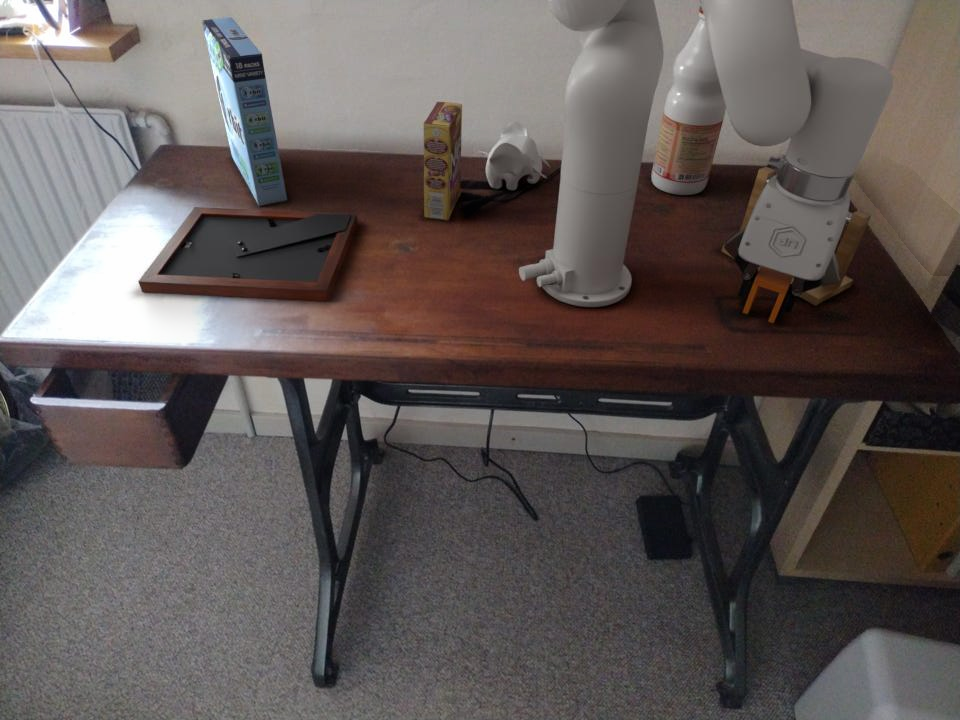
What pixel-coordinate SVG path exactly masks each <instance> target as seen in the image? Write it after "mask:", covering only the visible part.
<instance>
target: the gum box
mask: <svg viewBox="0 0 960 720" xmlns="http://www.w3.org/2000/svg"><path fill="white" fill-rule="evenodd" d="M201 23H202V28H203V32H204V38H205V41H206V47H207V51H208V55H209V59H210V64H211V68H212V73H213V78H214V82H215V87H216V91H217V95H218V100H219V104H220V109H221V113H222V118H223V123H224V127H225V131H226V136H227V140H228V144H229V149H230V153H231V154H230V155H231V157H232V159H233V161H234V164H235V165H236V167H237V169H238V171H239V172H240V174H241V175H242V178H243V180H244V181H245V183H246V184H247V187H248V188H249V190H250V192H251V194H252V196H253V197H254V199H255V202H256V203H257V206H259V207H263V206H268V205H269V206H270V205H273V204H278V203H283V202H287V201H288V197H287V191H286V186H285V185H286V184H285V180H284V174H283V168H282V163H281V157H280V152H279V146H278V140H277V134H276V128H275V123H274V117H273V111H272V106H271V100H270V95H269V89H268V83H267V77H266V70H265V66H264V59H263V53H262V52H261V51H260V49H259V48H258V47H257V46H256V45H255V44H254V42H253V41H252V40H251V38H249V36H248V35H247V34H246V33H245V32H244V30H243V29H242V28H241V27H240V26H239V24H238V23H237V22H236V20H234V19H233V17H231V16H229V17H218V18H211V19H203V20H201Z"/></svg>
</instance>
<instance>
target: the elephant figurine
mask: <svg viewBox="0 0 960 720" xmlns="http://www.w3.org/2000/svg"><path fill="white" fill-rule="evenodd" d="M479 154H481V155H482V156H484V157H485V158H487V160H486V165H485V176H486V179H487V182H488V184H489V187H491V188H492V189H495V190H499V189H501V188H502V187H503V180H504V181H505V187H506V189H507V190H509V191H515V190H517V188H518V187H519V181H520V180H521V178H523V177H524V176H526V175H528V177H527V179H526V181H527V183H528V184H533V185H534V184H536V183H538V182H539V180H540V178H541V177H542V178H544V179H548V177H547V176H546V175H545V174H543V173H542V171H543V164H544V165H546V166H547V167H549V168H551V169H552V167H551V165H550V164H549V162H548V161H547V160H546V159H545V158H543V156H541V155H540V154H539V152H538V150H537V144H536V142H535V140H534V139H533V138H532V137H530V136H529V133H528V130H527V128H526V126H525V125H524V124H522V123H520V122H519V121H512V122H510V123H508V124H507V125H506V126H505V127H504V128H503V130H502V132H501V134H500V136H499V139H498V142H496V144H494V145H493V147H492V148H491V150H490V151H489V152H487V151H481V150H479Z"/></svg>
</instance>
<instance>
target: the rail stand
mask: <svg viewBox="0 0 960 720" xmlns="http://www.w3.org/2000/svg"><path fill="white" fill-rule="evenodd" d="M775 173H776V171H774V170H773V169H771V168H767V166H764V167H762V168H759V169H758V171H757V175H756V178H755V182H754V184H753V188H752V191H751V195H750V197H749V201H748V204H747V207H746V212H745V214H744V216H743V221H742V225H741V227H740V230H739V232H740V231H741V230H743V229H744V228H746V227H747V224H748V222H749V219H750V217H751V214H752V212H753V210H754V207H755V205H756V203H757V201H758V199H759V197H760V195H761V193H762V191H763V189H764V188H765V186H766V184H767V183H768V181H769V180H770V179H771V178H772V177H773V176H775V175H776V174H775ZM871 217H872V214H871V213H869V212H867V211H864V210H862V209H859V210H857V211H854V212H850V211H848V214H847V218H846V222H845V225H844V226H846V229H845V231H844V234H843V236H842V238H841V241H840V243H839V245H838V247H837V251H836V252H835V255H836V259H837V262H838V266H839V269H840V273H841V278H840V281H839V282H838V283H837V284H832V285H826V286H823V285H822V286H819V287H817V288H814V289H812V290H809V291H806V292H803V293H802V294H801V295H800V296H798V297H799V298H801V299H803V300H804V301H806V302H808V303H810V304H811V305H813V306H818V305H819V304H821V303H823V302H825V301H827V300H829V299H831V298H832V297H834V296H836V295H839V294H840V293H842V292H844V291H845V290H847V289H849V288H851V287H852V284H853V282H854V279H853V278H850V277H849V276H847V275H846V274H847V271H848V270H849V267H850V265H851V262H852V260H853V259H854V256H855V254H856V251H857V249H858V247H859V244H860V242H861V240H862V237H863V236H864V233H865V231H866V229H867V227H868V224H869V221H870V220H871ZM724 245H725V243H724V244H723V246H722V248H721V252H722V253H724V254H725V255H727V256H729V257H730V258H732V259H734V258H733V257H732V256H731V255H730V254H729V253H728V252H727V251H726V250H725V248H724ZM760 268H761V266H759V267H758V272H759V270H760ZM825 272H826V271H825ZM793 279H794V276H793ZM793 279H792V281H791V284H792V282H793Z"/></svg>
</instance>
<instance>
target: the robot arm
mask: <svg viewBox="0 0 960 720" xmlns="http://www.w3.org/2000/svg"><path fill="white" fill-rule="evenodd" d="M546 2H547V4H548V8H549V9H550V11H551V13H552V14H553V16H554V17H555V19H556V20H557V21H558V22H559V23H560V24H561V25H563V27H565V28H567V29H569V30H571V31H574V32H576V33H577V36H578V40H579V44H580V46H581V52H580V53H579V55H578V57H577V58H576V60H575V62H574V64H573V66H572V68H571V71H570V73H569V76H568V79H567V83H566V87H565V93H564V102H563V141H562V152H561V153H562V154H561V163H560V164H561V165H560V178H559V179H560V180H559V190H558V200H557V209H556V219H555V228H554V237H553V238H554V239H553V245H552V246H553V247H552V248H551V249H547V250H545V257H544V258H543V259H542V258H541V259H540V260H539V262H538V263H532V264H531V263H530V264H526V265H523V266H520V267H519V268H518V274H519V278H520V279H521V281H523V282H525V281H529V280H534V279H536V284H537V286H538V287H539V288H541V287H542V289H543V290H544V291H545V292H546V294H548V295H549V296H551V297H553V298H554V299H555V300H557V301H560V302H562V303H564V304H568V305H571V306H576V307H581V308H582V307H583V308H599V307H606V306H610V305H613V304H616V303H618V302H620V301H621V300H623V299H624V298H625V297H626V296H627V295H629V293H630V290H631V287H632V282H633V278H632V274H631V272H630V270H629V269H628V267H627V266H626V265H625V264H624V261H625V256H626V250H627V245H628V239H629V235H630V229H631V223H632V218H633V212H634V206H635V201H636V195H637V190H638V186H639V177H640V173H641V166H642V161H643V156H644V155H643V154H644V151H645V150H644V149H645V145H646V138H647V132H648V126H649V121H650V116H651V113H652V108H653V103H654V99H655V95H656V90H657V87H658V84H659V80H660V76H661V73H662V69H663V65H664V56H665V55H664V54H665V53H664V51H665V50H664V42H663V37H662V32H661V27H660V22H659V18H658V13H657V9H656V2H655V0H546ZM699 3H700V5H701V6H702V10H703V14H704V17H705V21H706V26H707V31H708V35H709V40H710V45H711V49H712V54H713V58H714V62H715V66H716V71H717V75H718V78H719V82H720V86H721V90H722V93H723V97H724V101H725V105H726V112H727V115H728V119H729V122H730V125H731V127H732V128H733V130H734V132H736V134H737V135H738V136H739V137H740V138H741V139H742V140H743V141H745V142H747V143H748V144H750V145H753V146H759V147H772V146H777V145H780V144H783V143H785V142H787V141H789V143H788V145H787V148H786V151H785V154H782V156H774V155H771V156H770V157H769V159H768V162H767V165H766V167H767V168H771V169H773V170H774V171H775V174H774V176H773V177H772V178H771V179H770V180H769V181H768V183H767V184H766V186H765V188H764V189H763V191H762V193H761V195H760V197H759V199H758V201H757V203H756V205H755V207H754V210H753V212H752V214H751V217H750V219H749V222H748V224H747V227H746V228H744V229H743V230H741V229H740V230H741V231H740V230H739V232H737V233H735V234H734V235H733V236H731V237H730V238H729V239H727V240H726V242H725V243H724V244H725V245H724V244H723V245H724V248H725V250H726V251H727V252H728V253H729V254H730V255H731V256H732V257H733V258H732V257H731V258H732V259H734V262H735V263H736V265H737V267H738V268H739V270H740V271H741V273H742V274H741V277H742V278H743V280H742V282H741V285H740V288H739V290H738V293H737V296H738V297H741V300H740V303H739V307H742V308H744V307H745V304H746V302H747V299H748V296H749V294H750V291H751V288H752V286H753V283H754V280H755V278H756V276H757V274H758V267H759V266H762V267H765V268H768V269H771V270H774V271H778V272H781V273H784V274H787V275H790V276H794V279H793V282H792V284H790V286H789V288H788V290H787V293H786V295H785V297H784V300H783V302H782V305H781V307H780V309H779V312H778V314H777V316H776V320H780V321H781V320H782V319H783V316H784V314H785V312H786V313H789V314H791V312H792V310H793V308H794V306H795V303H796V302H797V298H798V297H799V296H800V295H801V294H802V293H803V292H806V291H809V290H812V289H814V288H817V287H819V286H822V285H823V286H826V285H832V284H837V283H838V282H839V281H840V278H841V273H840V269H839V266H838V262H837V259H836V252H835V251H836V249H837V246H838V244H839V240H840V238H841V236H842V233H843V231H844V229H845V228H844V227H845V226H846V225H845V222H846V218H847V214H848V212H849V209H850V203H851V195H850V194H849V192H848V191H849V188H850V186H851V184H852V181H853V179H854V177H855V175H856V172H857V170H858V168H859V166H860V163H861V162H862V159H863V156H864V154H865V152H866V150H867V148H868V145H869V143H870V140H871V138H872V136H873V133H874V132H875V130H876V127H877V125H878V122H879V120H880V118H881V116H882V113H883V111H884V108H885V106H886V104H887V102H888V99H889V97H890V94H891V92H892V90H893V86H894V77H893V74H892V72H891V71H890V70H889V69H888V68H887V67H885V66H883V65H882V64H880V63H877V62H875V61H873V60H870V59H869V60H868V59H864V58H858V57H851V56H839V57H832V56H828V55H824V54H821V53H817V52H813V51H810V50H806V49H804V48H801V42H800V38H799V31H798V27H797V21H796V16H795V11H794V4H793V0H699ZM825 271H826V272H825Z"/></svg>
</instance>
